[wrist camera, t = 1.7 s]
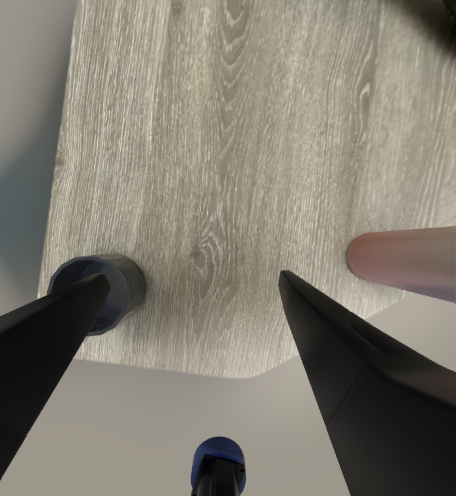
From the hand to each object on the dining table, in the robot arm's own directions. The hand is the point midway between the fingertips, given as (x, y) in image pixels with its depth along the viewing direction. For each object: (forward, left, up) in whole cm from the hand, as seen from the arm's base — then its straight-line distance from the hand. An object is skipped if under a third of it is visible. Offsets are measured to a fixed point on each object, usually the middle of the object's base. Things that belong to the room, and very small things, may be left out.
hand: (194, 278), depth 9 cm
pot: (-7, +11, -13) cm, 19 cm away
